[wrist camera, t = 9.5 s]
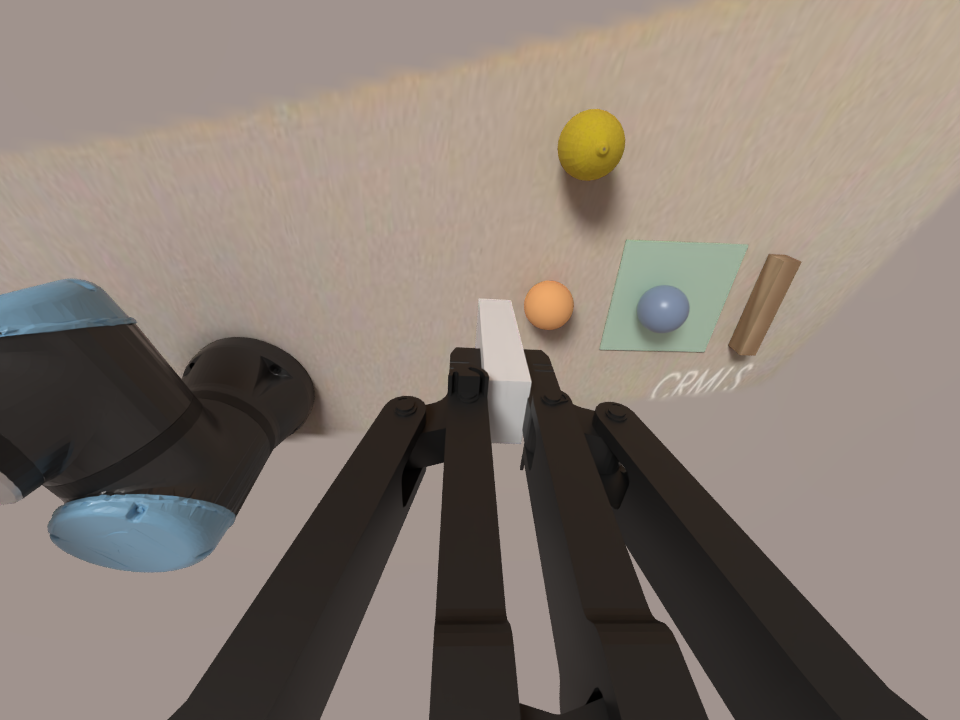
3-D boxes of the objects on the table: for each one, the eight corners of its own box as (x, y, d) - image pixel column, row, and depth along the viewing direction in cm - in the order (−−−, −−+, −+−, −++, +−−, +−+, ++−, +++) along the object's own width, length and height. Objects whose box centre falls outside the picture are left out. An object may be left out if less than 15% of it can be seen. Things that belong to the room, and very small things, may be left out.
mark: (599, 348, 50) (599, 349, 50) (626, 239, 43) (626, 240, 43) (703, 351, 51) (704, 351, 51) (747, 244, 44) (748, 244, 44)
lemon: (599, 177, 39) (627, 189, 33) (545, 172, 39) (563, 183, 32) (613, 113, 37) (648, 112, 30) (556, 106, 36) (577, 104, 29)
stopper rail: (728, 345, 51) (739, 355, 49) (768, 254, 44) (784, 261, 42) (743, 345, 51) (755, 355, 49) (785, 254, 45) (801, 261, 42)
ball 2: (685, 344, 43) (674, 323, 48) (703, 299, 40) (689, 281, 45) (634, 338, 44) (628, 317, 49) (648, 292, 41) (640, 275, 46)
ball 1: (570, 340, 43) (568, 319, 47) (579, 293, 40) (575, 276, 44) (520, 335, 43) (523, 315, 48) (525, 289, 40) (527, 272, 45)
